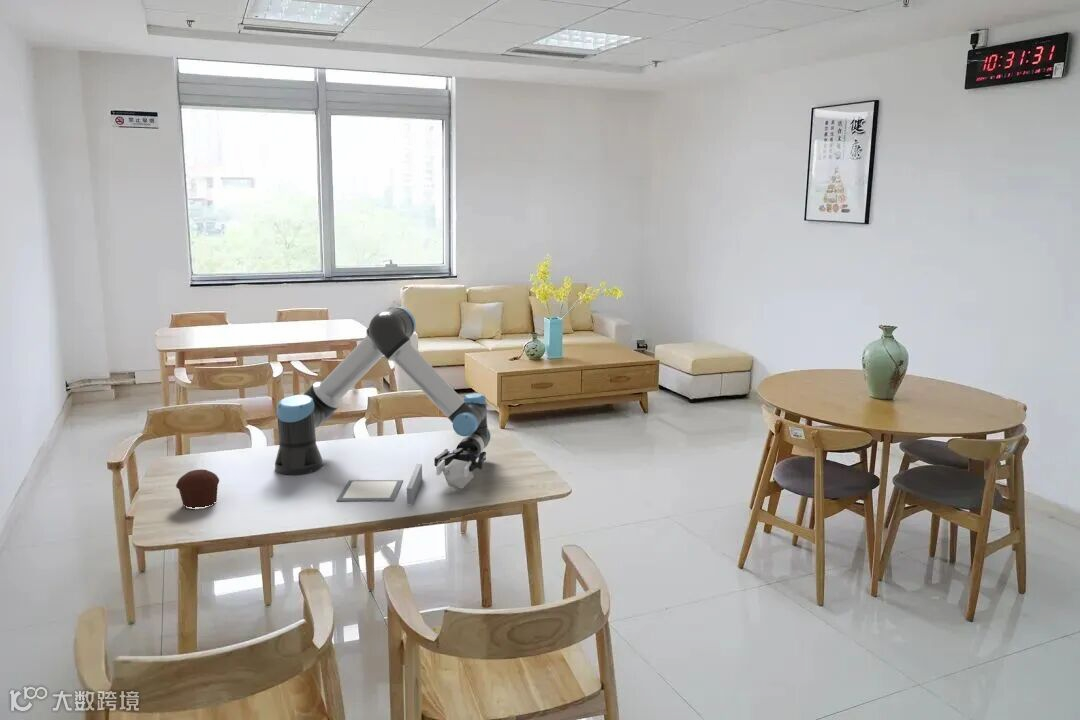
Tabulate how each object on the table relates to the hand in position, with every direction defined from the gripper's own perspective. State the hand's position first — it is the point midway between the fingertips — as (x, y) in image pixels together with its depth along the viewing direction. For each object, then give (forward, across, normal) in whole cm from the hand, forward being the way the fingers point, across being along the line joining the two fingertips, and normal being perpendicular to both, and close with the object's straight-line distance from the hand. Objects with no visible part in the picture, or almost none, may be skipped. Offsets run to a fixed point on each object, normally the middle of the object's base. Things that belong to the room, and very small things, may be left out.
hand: (451, 471), depth 238 cm
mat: (0, +26, -8) cm, 27 cm away
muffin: (+18, +71, -9) cm, 74 cm away
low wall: (-3, +12, -8) cm, 15 cm away
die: (-5, -1, -6) cm, 8 cm away
